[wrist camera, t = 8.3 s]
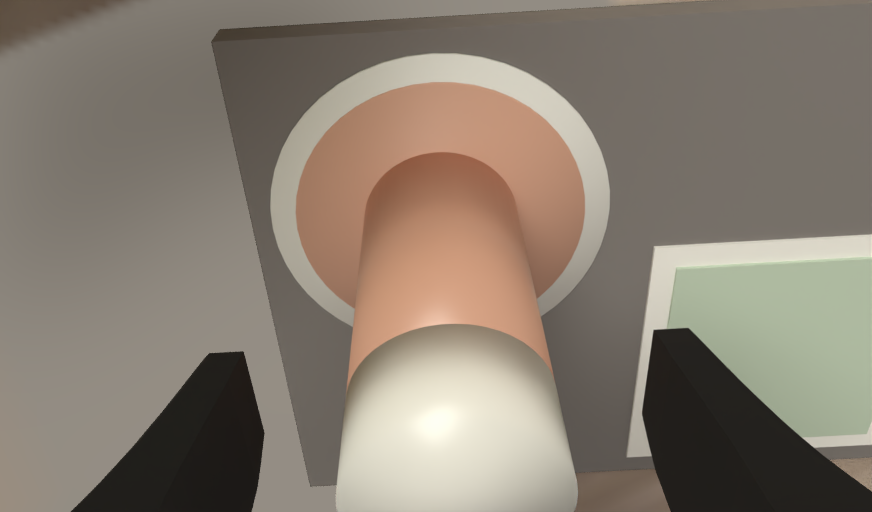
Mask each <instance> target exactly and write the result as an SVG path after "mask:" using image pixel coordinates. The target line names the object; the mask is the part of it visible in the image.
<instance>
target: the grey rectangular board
mask: <svg viewBox="0 0 872 512" xmlns="http://www.w3.org/2000/svg"><path fill="white" fill-rule="evenodd" d="M211 43H212V47H213V52H214V56H215V61H216V65H217V70H218V74H219V79H220V83H221V88H222V92H223V96H224V101H225V105H226V110H227V114H228V119H229V123H230V128H231V132H232V137H233V142H234V146H235V151H236V155H237V159H238V164H239V169H240V173H241V177H242V182H243V186H244V191H245V195H246V200H247V204H248V209H249V213H250V218H251V222H252V227H253V231H254V236H255V240H256V245H257V249H258V254H259V258H260V263H261V267H262V272H263V276H264V281H265V285H266V289H267V294H268V299H269V303H270V307H271V312H272V316H273V321H274V326H275V330H276V335H277V339H278V344H279V348H280V352H281V357H282V362H283V366H284V371H285V375H286V380H287V384H288V388H289V393H290V397H291V402H292V406H293V411H294V416H295V420H296V425H297V429H298V433H299V438H300V443H301V446H302V452H303V456H304V461H305V465H306V470H307V474H308V478H309V483H310V486H328V485H329V486H330V485H337V478H338V468H339V458H340V448H341V439H342V429H343V419H344V410H345V400H346V390H347V380H348V371H349V361H350V351H351V341H352V332H353V322H354V312H355V303H356V293H357V283H358V273H359V264H360V254H361V244H362V235H363V225H364V215H365V208H366V203H367V201H368V198H369V195H370V193H371V191H372V189H373V188H374V186H375V185H376V183H377V182H378V181H379V179H380V178H381V177H382V176H383V175H384V174H385V173H386V172H388V171H389V170H390V169H391V168H393V167H394V166H396V165H397V164H399V163H401V162H402V161H405V160H407V159H409V158H412V157H415V156H418V155H422V154H427V153H434V152H450V153H457V154H463V155H466V156H469V157H472V158H475V159H477V160H479V161H481V162H483V163H485V164H487V165H488V166H490V167H491V168H492V169H494V170H495V171H496V172H497V173H498V174H499V175H500V176H501V177H502V178H503V179H504V180H505V182H506V183H507V185H508V186H509V188H510V190H511V192H512V194H513V196H514V200H515V203H516V207H517V211H518V216H519V221H520V225H521V230H522V234H523V239H524V243H525V248H526V252H527V257H528V261H529V266H530V270H531V275H532V280H533V284H534V289H535V293H536V298H537V302H538V307H539V311H540V316H541V320H542V325H543V330H544V334H545V339H546V343H547V348H548V352H549V357H550V361H551V366H552V370H553V375H554V379H555V384H556V389H557V393H558V398H559V402H560V407H561V411H562V416H563V420H564V425H565V429H566V434H567V439H568V443H569V448H570V452H571V457H572V461H573V466H574V470H575V473H581V472H600V471H619V470H638V469H655V467H654V463H653V459H652V455H651V451H650V447H649V443H648V439H647V435H646V430H645V426H644V421H643V417H642V408H643V401H644V394H645V386H646V379H647V372H648V365H649V358H650V351H651V344H652V337H653V330H657V329H676V328H689V329H690V330H691V331H692V332H693V333H694V334H695V335H696V336H697V337H698V338H699V339H700V340H701V341H702V342H703V343H704V344H705V345H706V346H707V347H708V348H709V349H710V350H711V351H712V352H713V353H714V354H715V355H716V356H717V357H718V358H719V359H720V360H721V361H722V362H723V363H724V364H725V365H726V366H727V367H728V368H729V369H730V370H731V371H732V372H733V373H734V374H735V375H736V376H737V377H738V379H739V380H740V381H741V382H742V383H744V384H745V385H746V386H747V387H748V388H749V389H750V390H751V391H752V392H753V393H754V394H755V395H756V396H757V397H758V398H759V399H760V400H761V401H762V402H763V403H764V404H765V405H766V406H768V407H769V408H770V409H771V410H772V411H773V412H774V413H775V414H776V415H777V416H778V417H779V418H780V419H781V420H783V421H784V422H785V423H786V424H787V425H788V426H789V427H790V428H792V429H793V430H794V431H795V432H796V433H797V434H798V435H800V436H801V437H802V438H803V439H804V440H805V441H807V442H808V443H809V444H810V445H811V446H813V447H814V448H815V449H816V450H817V451H819V452H820V453H821V454H822V455H823V456H825V457H826V458H827V459H829V460H831V459H850V458H869V457H872V0H714V1H697V2H680V3H663V4H646V5H628V6H611V7H594V8H577V9H560V10H544V11H526V12H509V13H493V14H477V15H476V14H475V15H458V16H441V17H424V18H408V19H390V20H374V21H355V22H339V23H323V24H306V25H305V24H304V25H287V26H270V27H253V28H237V29H220V30H219V31H218V33H217V34H216V36H215V37H214V39H213V40H212V42H211Z"/></svg>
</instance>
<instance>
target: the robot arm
mask: <svg viewBox="0 0 872 512" xmlns="http://www.w3.org/2000/svg"><path fill="white" fill-rule="evenodd" d="M642 417H643V421H644V426H645V430H646V435H647V439H648V443H649V447H650V451H651V455H652V459H653V463H654V467H655V470H656V473H657V475H658V478H659V481H660V484H661V486H662V489H663V492H664V494H665V497H666V500H667V503H668V505H669V508H670V511H671V512H872V492H871V491H870V490H869V489H867V488H866V487H865V486H863V485H862V484H860V483H859V482H858V481H856V480H855V479H854V478H852V477H851V476H850V475H848V474H847V473H846V472H844V471H843V470H841V469H840V468H839V467H837V466H836V465H835V464H834V463H832V462H831V461H830V460H829V459H827V458H826V457H825V456H823V455H822V454H821V453H820V452H819V451H817V450H816V449H815V448H814V447H813V446H811V445H810V444H809V443H808V442H807V441H805V440H804V439H803V438H802V437H801V436H800V435H798V434H797V433H796V432H795V431H794V430H793V429H792V428H790V427H789V426H788V425H787V424H786V423H785V422H784V421H783V420H781V419H780V418H779V417H778V416H777V415H776V414H775V413H774V412H773V411H772V410H771V409H770V408H769V407H768V406H766V405H765V404H764V403H763V402H762V401H761V400H760V399H759V398H758V397H757V396H756V395H755V394H754V393H753V392H752V391H751V390H750V389H749V388H748V387H747V386H746V385H745V384H744V383H742V382H741V381H740V380H739V379H738V377H737V376H736V375H735V374H734V373H733V372H732V371H731V370H730V369H729V368H728V367H727V366H726V365H725V364H724V363H723V362H722V361H721V360H720V359H719V358H718V357H717V356H716V355H715V354H714V353H713V352H712V351H711V350H710V349H709V348H708V347H707V346H706V345H705V344H704V343H703V342H702V341H701V340H700V339H699V338H698V337H697V336H696V335H695V334H694V333H693V332H692V331H691V330H690V329H689V328H676V329H657V330H653V337H652V344H651V351H650V358H649V365H648V372H647V379H646V386H645V394H644V401H643V408H642ZM263 441H264V429H263V425H262V422H261V418H260V414H259V410H258V406H257V402H256V399H255V394H254V390H253V386H252V383H251V379H250V375H249V371H248V367H247V363H246V359H245V356H244V352H225V353H209V354H208V355H207V356H206V357H205V359H204V360H203V361H202V362H201V363H200V365H199V366H198V367H197V369H196V370H195V371H194V372H193V373H192V375H191V376H190V377H189V379H188V380H187V381H186V382H185V384H184V385H183V386H182V388H181V389H180V390H179V391H178V393H177V394H176V395H175V396H174V398H173V399H172V400H171V401H170V403H169V404H168V405H167V406H166V408H165V409H164V410H163V412H162V413H161V414H160V415H159V416H158V417H157V419H156V420H155V421H154V422H153V423H152V425H151V426H150V427H149V428H148V429H147V431H146V432H145V433H144V434H143V435H142V437H141V438H140V439H139V440H138V441H137V443H136V444H135V445H134V446H133V447H132V448H131V449H130V450H129V452H128V453H127V454H126V455H125V456H124V457H123V458H122V459H121V460H120V461H119V462H118V464H117V465H116V466H115V467H114V468H113V469H112V470H111V471H110V472H109V473H108V474H107V476H105V478H104V479H103V480H102V481H101V482H100V483H99V484H98V485H97V486H96V487H95V488H94V489H93V490H92V491H91V492H90V493H89V494H88V495H87V496H86V497H85V498H84V499H83V500H82V501H81V502H80V503H79V504H78V505H77V506H76V507H75V508H74V509H73V510H72V511H71V512H251V511H252V507H253V503H254V499H255V495H256V491H257V487H258V480H259V473H260V465H261V458H262V449H263Z"/></svg>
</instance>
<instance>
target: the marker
mask: <svg viewBox="0 0 872 512" xmlns="http://www.w3.org/2000/svg"><path fill="white" fill-rule="evenodd" d="M577 499H578V486H577V479H576V475H575V470H574V466H573V461H572V457H571V452H570V448H569V443H568V439H567V434H566V429H565V425H564V420H563V416H562V411H561V407H560V402H559V398H558V393H557V389H556V384H555V379H554V375H553V370H552V366H551V361H550V357H549V352H548V348H547V343H546V339H545V334H544V330H543V325H542V320H541V316H540V311H539V307H538V302H537V298H536V293H535V289H534V284H533V280H532V275H531V270H530V266H529V261H528V257H527V252H526V248H525V243H524V239H523V234H522V230H521V225H520V221H519V216H518V211H517V207H516V203H515V200H514V196H513V194H512V192H511V190H510V188H509V186H508V185H507V183H506V182H505V180H504V179H503V178H502V177H501V176H500V175H499V174H498V173H497V172H496V171H495V170H494V169H492V168H491V167H490V166H488V165H487V164H485V163H483V162H481V161H479V160H477V159H475V158H472V157H469V156H466V155H463V154H457V153H450V152H434V153H427V154H422V155H418V156H415V157H412V158H409V159H407V160H405V161H402V162H401V163H399V164H397V165H396V166H394V167H393V168H391V169H390V170H389V171H388V172H386V173H385V174H384V175H383V176H382V177H381V178H380V179H379V181H378V182H377V183H376V185H375V186H374V188H373V189H372V191H371V193H370V195H369V198H368V201H367V203H366V208H365V215H364V225H363V235H362V244H361V254H360V264H359V273H358V283H357V293H356V303H355V312H354V322H353V332H352V341H351V351H350V361H349V371H348V380H347V390H346V400H345V410H344V419H343V429H342V439H341V448H340V458H339V468H338V478H337V487H336V508H337V512H574V511H575V508H576V505H577Z"/></svg>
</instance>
